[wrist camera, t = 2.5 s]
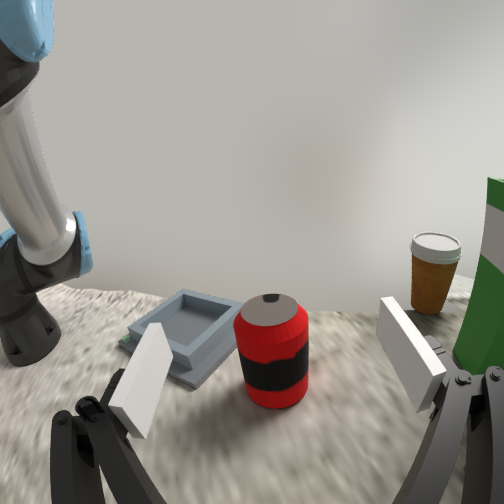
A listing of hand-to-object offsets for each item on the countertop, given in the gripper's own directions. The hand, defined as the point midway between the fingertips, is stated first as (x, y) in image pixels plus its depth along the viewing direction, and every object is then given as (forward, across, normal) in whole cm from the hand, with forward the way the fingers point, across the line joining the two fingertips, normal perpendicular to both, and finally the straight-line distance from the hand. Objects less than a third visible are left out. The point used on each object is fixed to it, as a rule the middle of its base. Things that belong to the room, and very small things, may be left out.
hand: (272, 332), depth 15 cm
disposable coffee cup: (+22, +27, -17) cm, 39 cm away
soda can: (+10, 0, -17) cm, 20 cm away
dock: (+23, -14, -17) cm, 31 cm away
